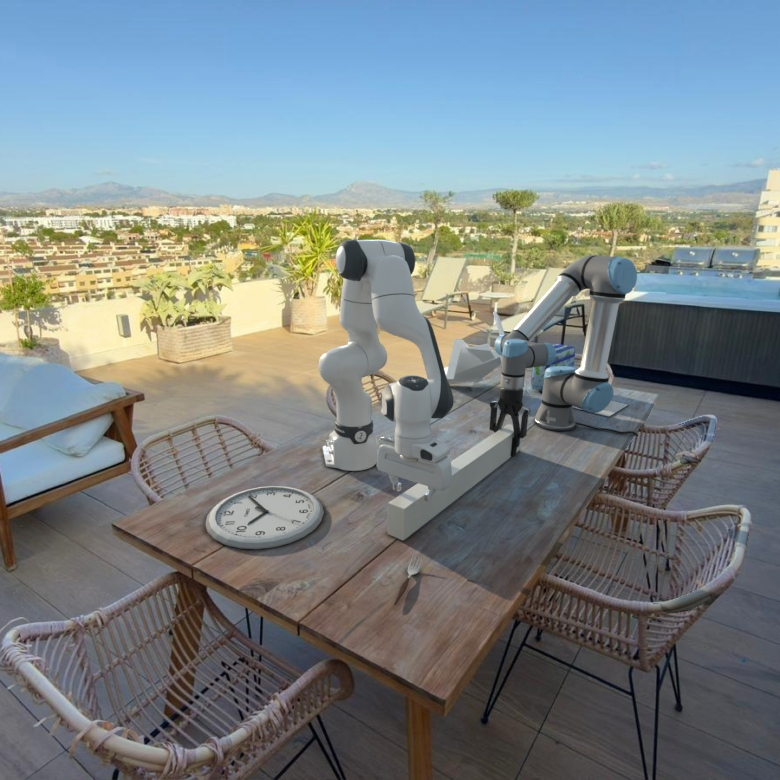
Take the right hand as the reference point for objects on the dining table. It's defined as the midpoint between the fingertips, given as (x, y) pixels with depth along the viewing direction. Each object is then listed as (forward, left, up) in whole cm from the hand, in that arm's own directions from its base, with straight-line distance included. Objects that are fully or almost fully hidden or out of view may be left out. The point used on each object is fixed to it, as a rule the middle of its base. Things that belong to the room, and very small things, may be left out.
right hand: (505, 452), depth 177 cm
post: (+14, +25, -1) cm, 29 cm away
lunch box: (-29, -81, -1) cm, 86 cm away
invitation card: (-46, -57, -1) cm, 73 cm away
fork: (+27, +72, -1) cm, 77 cm away
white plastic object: (+6, -69, -1) cm, 69 cm away
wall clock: (+66, +50, -1) cm, 83 cm away
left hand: (+28, +50, +9) cm, 58 cm away
